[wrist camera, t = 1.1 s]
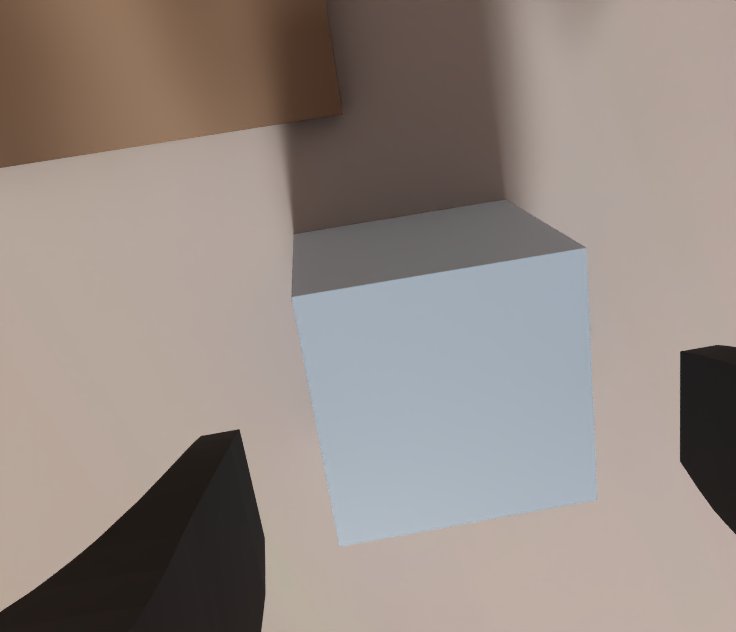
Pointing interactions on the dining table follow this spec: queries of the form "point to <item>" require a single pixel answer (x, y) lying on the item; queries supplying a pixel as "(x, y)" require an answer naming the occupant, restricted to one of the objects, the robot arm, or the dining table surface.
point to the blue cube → (447, 368)
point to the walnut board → (156, 72)
